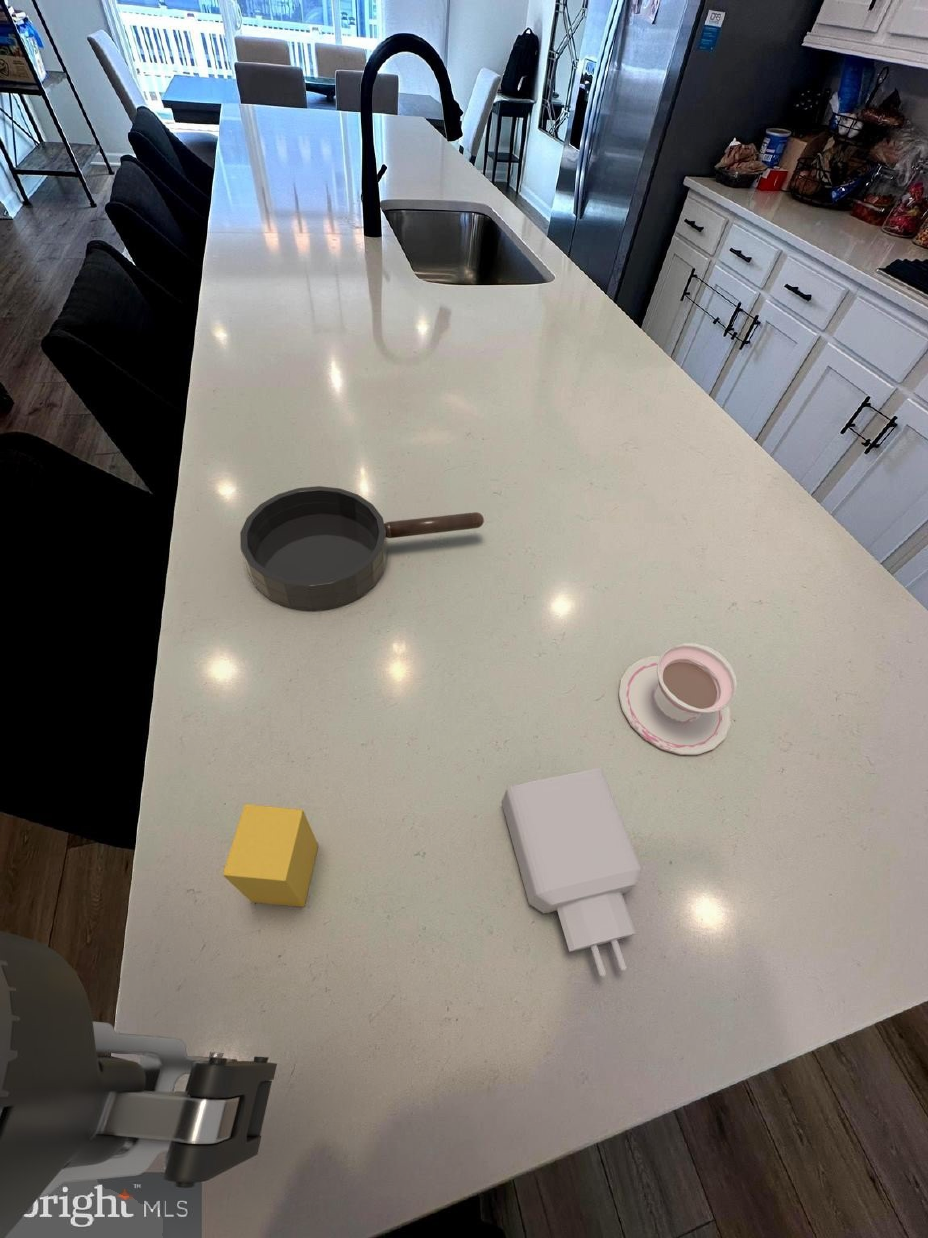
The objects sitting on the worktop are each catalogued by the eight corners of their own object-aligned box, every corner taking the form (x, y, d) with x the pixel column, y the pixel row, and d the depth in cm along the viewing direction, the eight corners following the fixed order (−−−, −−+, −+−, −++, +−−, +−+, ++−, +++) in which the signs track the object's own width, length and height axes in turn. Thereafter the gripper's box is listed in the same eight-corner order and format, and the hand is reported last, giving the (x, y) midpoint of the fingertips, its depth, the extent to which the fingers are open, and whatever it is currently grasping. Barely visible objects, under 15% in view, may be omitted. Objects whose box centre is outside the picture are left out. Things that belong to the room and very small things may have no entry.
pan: (250, 620, 63) (241, 594, 59) (247, 520, 72) (239, 493, 69) (396, 600, 66) (396, 574, 63) (375, 507, 76) (374, 480, 72)
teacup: (694, 780, 55) (722, 754, 50) (596, 703, 60) (613, 672, 55) (747, 705, 61) (776, 675, 56) (654, 640, 66) (673, 607, 61)
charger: (550, 992, 44) (500, 804, 52) (657, 962, 45) (591, 785, 54) (563, 986, 40) (507, 785, 48) (679, 954, 42) (605, 766, 50)
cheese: (304, 907, 46) (285, 881, 39) (250, 902, 46) (221, 875, 39) (318, 844, 49) (303, 809, 42) (268, 839, 49) (244, 803, 42)
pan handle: (383, 542, 68) (382, 530, 67) (380, 531, 70) (379, 519, 68) (484, 530, 71) (486, 518, 70) (480, 519, 72) (482, 508, 71)
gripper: (-937, 1429, 8) (-115, 1196, 21) (49, 1497, 8) (265, 1227, 21) (-408, 877, 13) (1, 963, 26) (218, 934, 13) (312, 991, 26)
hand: (121, 1083), depth 23 cm, fingers open, 8 cm apart
